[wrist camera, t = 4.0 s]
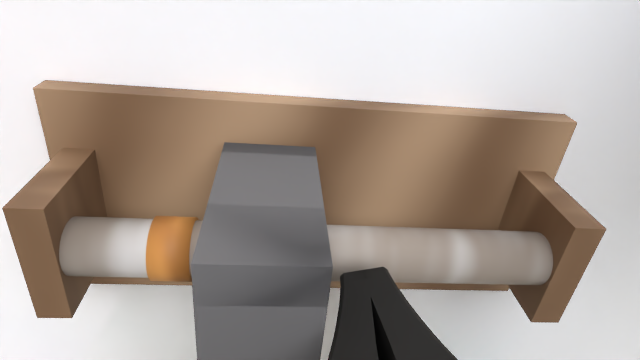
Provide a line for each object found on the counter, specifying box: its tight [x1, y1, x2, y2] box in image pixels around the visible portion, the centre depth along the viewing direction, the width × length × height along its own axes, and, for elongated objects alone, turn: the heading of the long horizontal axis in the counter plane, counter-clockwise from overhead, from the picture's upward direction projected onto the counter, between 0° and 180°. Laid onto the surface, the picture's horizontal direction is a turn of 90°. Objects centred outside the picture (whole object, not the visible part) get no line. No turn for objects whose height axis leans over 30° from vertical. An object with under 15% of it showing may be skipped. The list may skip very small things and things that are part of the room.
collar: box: [191, 142, 333, 360], centre depth 13 cm, size 3×5×6 cm, turn 175°
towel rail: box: [2, 80, 606, 322], centre depth 15 cm, size 18×8×4 cm, turn 85°
